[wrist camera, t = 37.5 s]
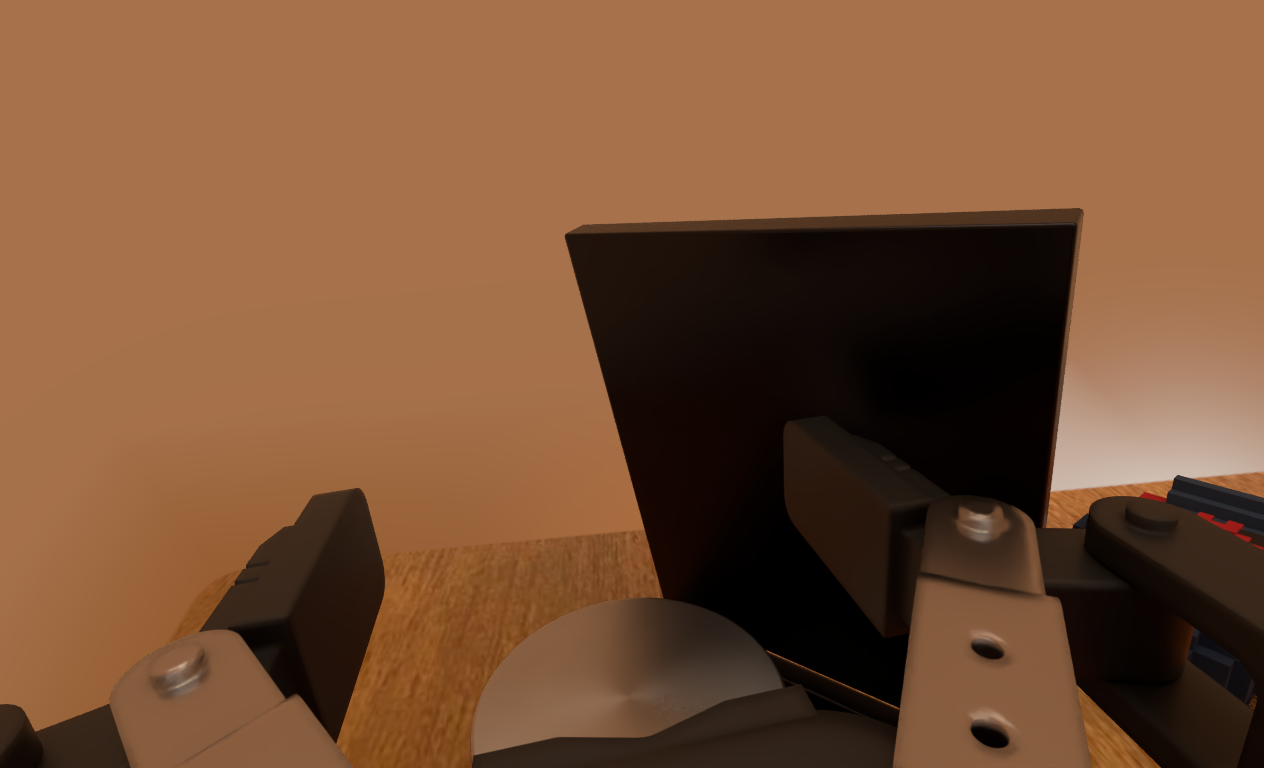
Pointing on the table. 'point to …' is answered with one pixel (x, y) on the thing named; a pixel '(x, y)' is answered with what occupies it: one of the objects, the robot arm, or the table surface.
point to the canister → (619, 674)
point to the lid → (823, 389)
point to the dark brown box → (835, 694)
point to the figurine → (1243, 518)
